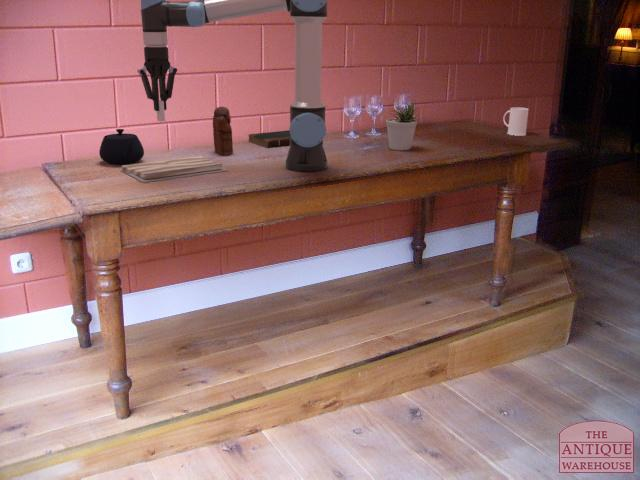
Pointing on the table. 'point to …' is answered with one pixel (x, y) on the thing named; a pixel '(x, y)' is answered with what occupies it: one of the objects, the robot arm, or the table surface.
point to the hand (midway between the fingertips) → (161, 120)
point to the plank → (176, 169)
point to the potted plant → (402, 129)
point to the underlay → (173, 175)
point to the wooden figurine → (222, 131)
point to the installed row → (161, 163)
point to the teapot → (121, 148)
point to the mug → (517, 121)
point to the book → (271, 139)
